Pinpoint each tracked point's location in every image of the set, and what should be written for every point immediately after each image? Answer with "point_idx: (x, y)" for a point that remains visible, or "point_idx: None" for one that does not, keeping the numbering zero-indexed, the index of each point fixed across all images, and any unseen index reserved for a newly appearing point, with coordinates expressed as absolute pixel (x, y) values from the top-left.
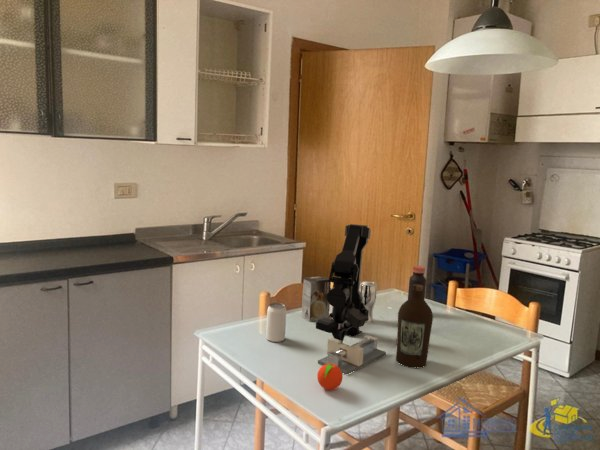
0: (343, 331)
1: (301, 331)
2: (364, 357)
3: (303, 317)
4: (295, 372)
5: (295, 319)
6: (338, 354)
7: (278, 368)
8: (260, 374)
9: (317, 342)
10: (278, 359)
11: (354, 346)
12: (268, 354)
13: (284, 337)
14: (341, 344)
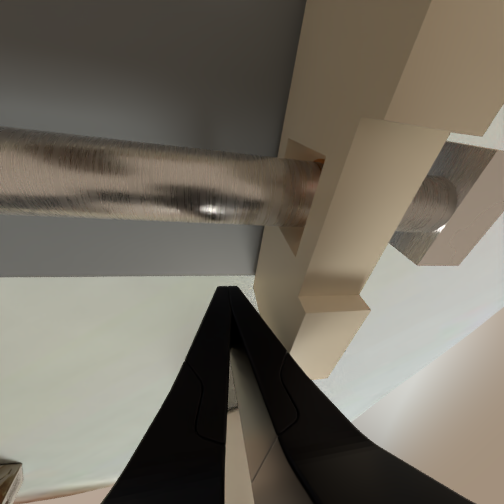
0: (223, 449)
1: (124, 429)
2: (95, 35)
3: (22, 478)
4: (464, 270)
5: (64, 471)
6: (490, 187)
7: (440, 314)
8: (489, 316)
9: (153, 371)
10: (374, 347)
11: (470, 41)
12: (352, 372)
13: (236, 418)
14: (349, 271)
